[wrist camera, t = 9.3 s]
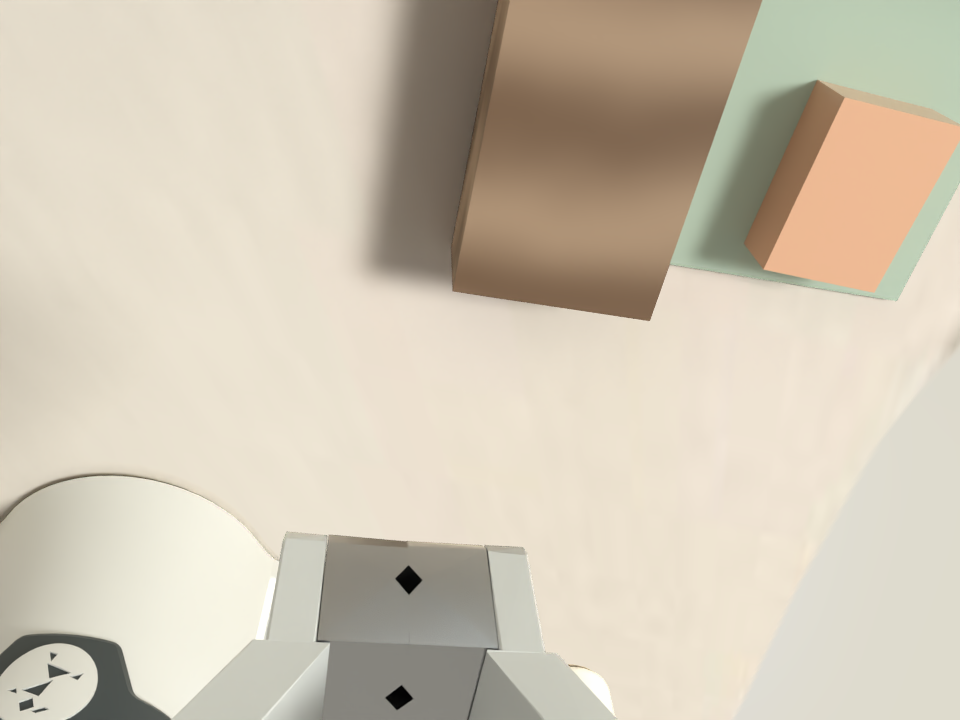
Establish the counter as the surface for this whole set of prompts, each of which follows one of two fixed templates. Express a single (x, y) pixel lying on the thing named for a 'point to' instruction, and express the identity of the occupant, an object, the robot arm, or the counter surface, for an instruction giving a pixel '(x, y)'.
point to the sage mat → (780, 103)
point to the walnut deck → (592, 147)
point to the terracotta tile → (850, 186)
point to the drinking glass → (595, 685)
